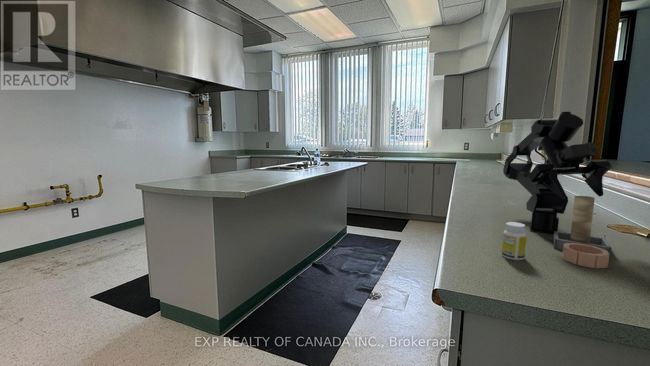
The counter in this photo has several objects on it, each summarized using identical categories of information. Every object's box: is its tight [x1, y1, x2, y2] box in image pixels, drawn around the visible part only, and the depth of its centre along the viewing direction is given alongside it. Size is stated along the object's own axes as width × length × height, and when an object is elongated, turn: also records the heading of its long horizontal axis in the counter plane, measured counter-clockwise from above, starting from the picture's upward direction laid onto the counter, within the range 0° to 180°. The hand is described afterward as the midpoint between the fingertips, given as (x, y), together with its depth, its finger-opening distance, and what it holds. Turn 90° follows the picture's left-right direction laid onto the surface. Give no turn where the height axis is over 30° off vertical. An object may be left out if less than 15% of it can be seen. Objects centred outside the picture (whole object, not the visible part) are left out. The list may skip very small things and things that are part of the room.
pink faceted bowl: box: [561, 243, 610, 269], centre depth 71 cm, size 8×8×3 cm
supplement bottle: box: [501, 221, 527, 261], centre depth 73 cm, size 5×5×8 cm
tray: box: [552, 230, 613, 258], centre depth 79 cm, size 11×9×2 cm
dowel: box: [570, 195, 596, 244], centre depth 79 cm, size 4×4×13 cm
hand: (582, 196), depth 79 cm, fingers open, 9 cm apart
